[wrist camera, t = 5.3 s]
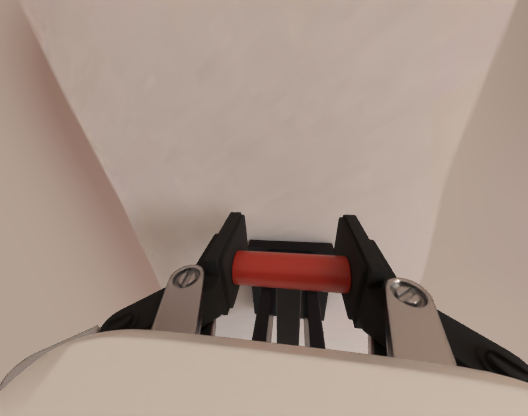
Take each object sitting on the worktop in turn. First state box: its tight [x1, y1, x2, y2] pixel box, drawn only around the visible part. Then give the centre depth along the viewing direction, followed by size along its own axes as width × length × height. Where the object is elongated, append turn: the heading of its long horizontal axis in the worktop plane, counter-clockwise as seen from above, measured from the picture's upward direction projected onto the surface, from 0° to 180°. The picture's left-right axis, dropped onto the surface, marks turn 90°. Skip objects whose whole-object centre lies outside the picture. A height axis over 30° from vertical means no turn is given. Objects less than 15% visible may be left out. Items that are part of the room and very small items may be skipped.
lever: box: [232, 250, 352, 346], centre depth 11 cm, size 12×5×2 cm, turn 2°
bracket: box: [248, 240, 334, 349], centre depth 16 cm, size 10×8×12 cm
